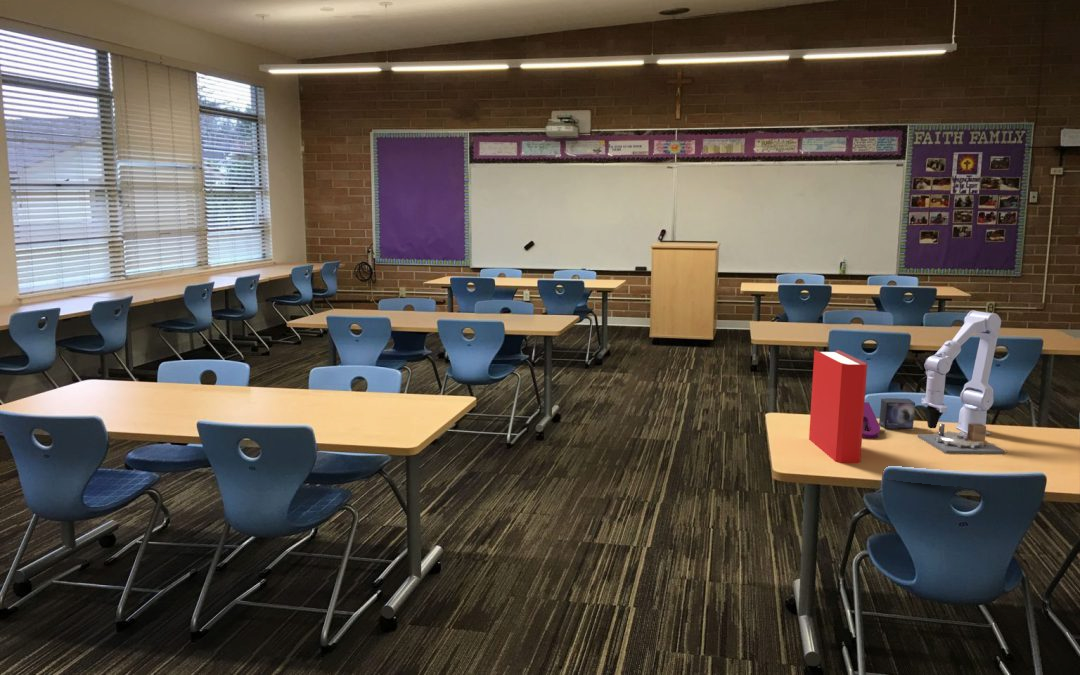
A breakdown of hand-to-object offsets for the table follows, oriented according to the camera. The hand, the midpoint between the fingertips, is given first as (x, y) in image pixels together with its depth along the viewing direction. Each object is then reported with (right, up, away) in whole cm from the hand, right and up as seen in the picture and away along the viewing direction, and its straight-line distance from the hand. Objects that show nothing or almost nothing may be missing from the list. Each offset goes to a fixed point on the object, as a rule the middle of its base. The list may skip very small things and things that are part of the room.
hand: (931, 427), depth 301 cm
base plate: (+6, -5, -8) cm, 11 cm away
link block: (+10, -3, -11) cm, 15 cm away
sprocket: (+6, -4, -8) cm, 11 cm away
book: (-40, -6, -16) cm, 44 cm away
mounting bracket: (-22, -3, +8) cm, 24 cm away
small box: (-7, -2, +14) cm, 16 cm away
